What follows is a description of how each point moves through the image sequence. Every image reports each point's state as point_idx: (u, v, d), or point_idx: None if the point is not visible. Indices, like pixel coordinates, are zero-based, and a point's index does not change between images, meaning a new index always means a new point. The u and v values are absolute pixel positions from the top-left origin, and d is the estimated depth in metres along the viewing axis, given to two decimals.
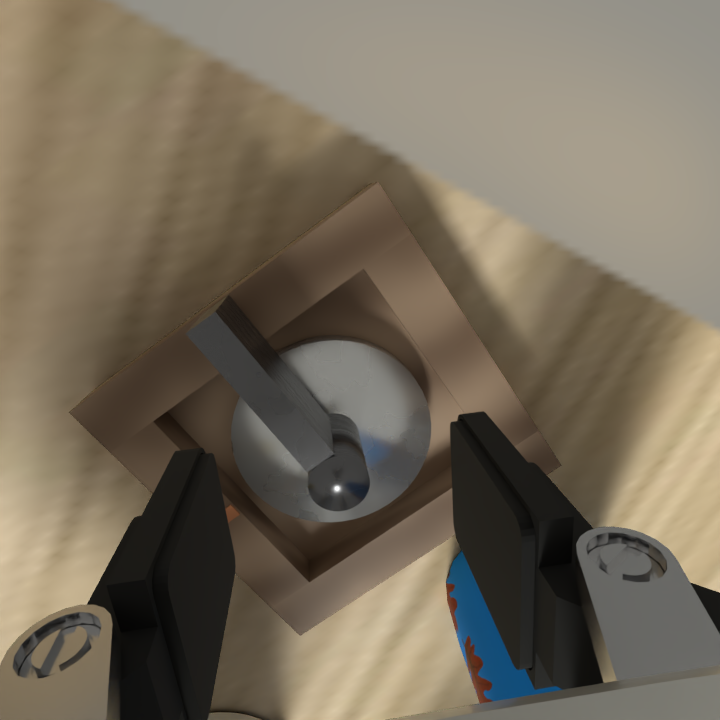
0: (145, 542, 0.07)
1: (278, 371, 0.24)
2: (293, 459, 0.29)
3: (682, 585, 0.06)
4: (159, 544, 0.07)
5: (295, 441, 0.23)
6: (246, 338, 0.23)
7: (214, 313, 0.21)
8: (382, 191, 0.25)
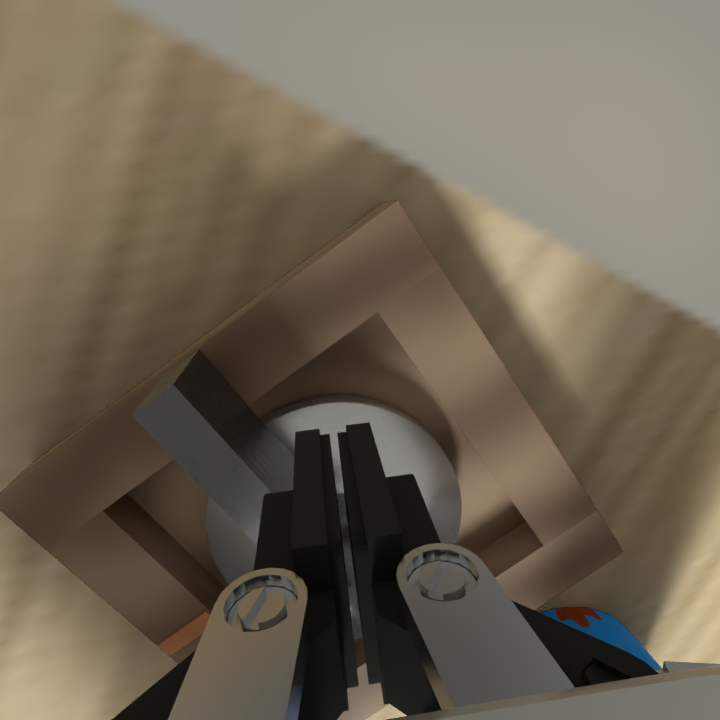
0: (310, 512, 0.08)
1: (264, 454, 0.18)
2: None
3: (494, 589, 0.06)
4: (324, 513, 0.08)
5: None
6: (219, 414, 0.16)
7: (172, 386, 0.15)
8: (402, 212, 0.19)
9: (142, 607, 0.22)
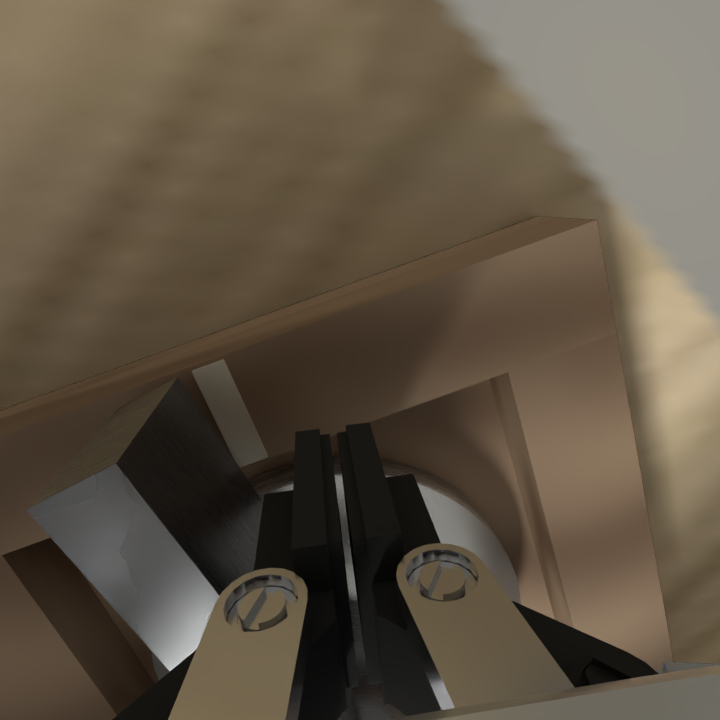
0: (310, 512, 0.08)
1: None
2: None
3: (494, 589, 0.06)
4: (325, 513, 0.08)
5: None
6: (197, 509, 0.09)
7: (113, 467, 0.08)
8: (596, 240, 0.12)
9: (23, 702, 0.14)
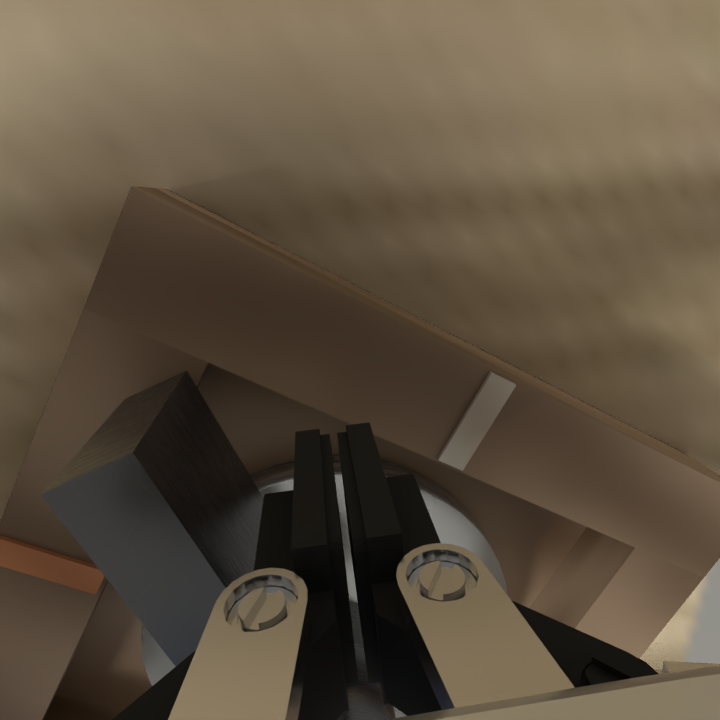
0: (310, 512, 0.08)
1: None
2: None
3: (494, 589, 0.06)
4: (324, 513, 0.08)
5: None
6: (205, 501, 0.09)
7: (130, 455, 0.08)
8: None
9: None
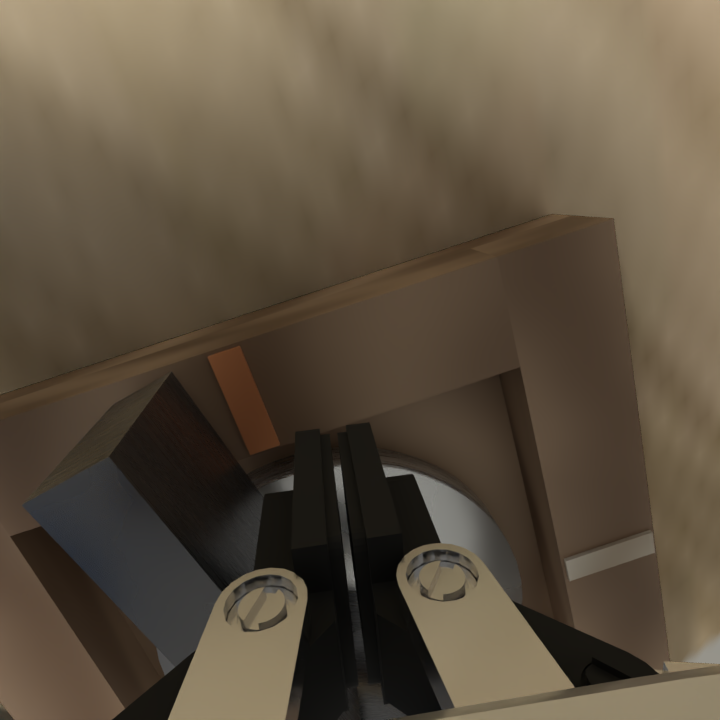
0: (310, 512, 0.08)
1: None
2: None
3: (494, 589, 0.06)
4: (325, 513, 0.08)
5: None
6: (193, 501, 0.09)
7: (106, 460, 0.08)
8: None
9: (327, 351, 0.12)
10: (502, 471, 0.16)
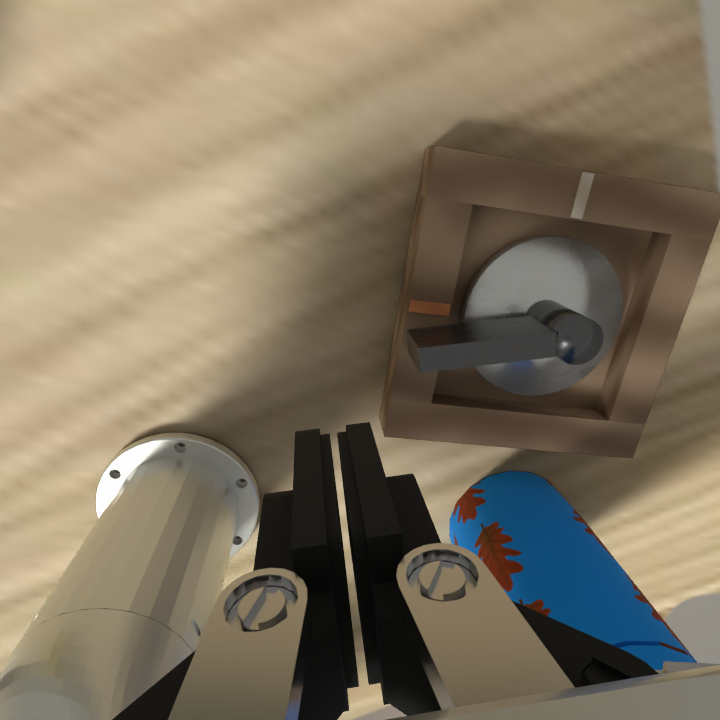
0: (310, 512, 0.08)
1: (476, 331, 0.32)
2: None
3: (494, 589, 0.06)
4: (324, 513, 0.08)
5: (529, 351, 0.31)
6: (444, 339, 0.31)
7: (419, 349, 0.30)
8: None
9: (427, 272, 0.33)
10: (522, 220, 0.34)
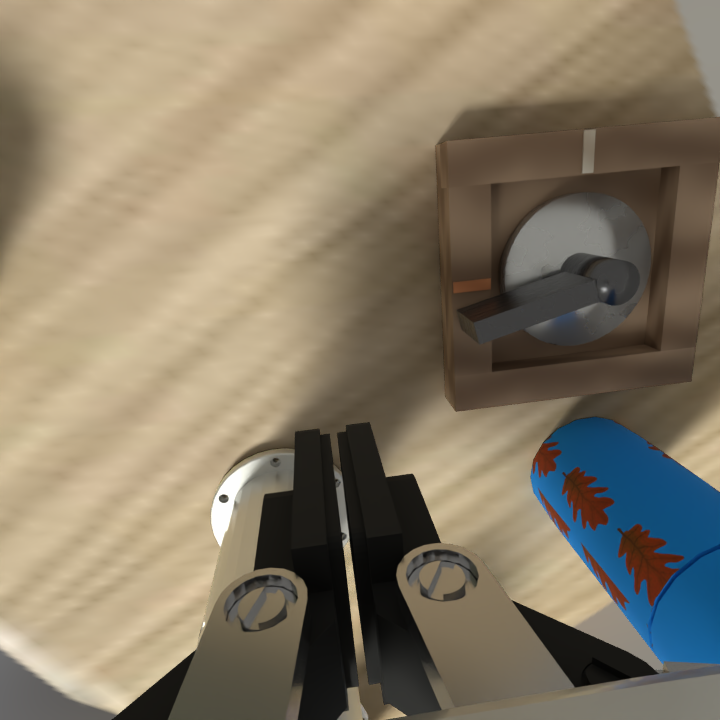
0: (310, 512, 0.08)
1: (521, 296, 0.35)
2: None
3: (494, 589, 0.06)
4: (325, 513, 0.08)
5: (574, 302, 0.33)
6: (493, 309, 0.34)
7: (474, 323, 0.33)
8: None
9: (463, 254, 0.36)
10: (538, 187, 0.37)
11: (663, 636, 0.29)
